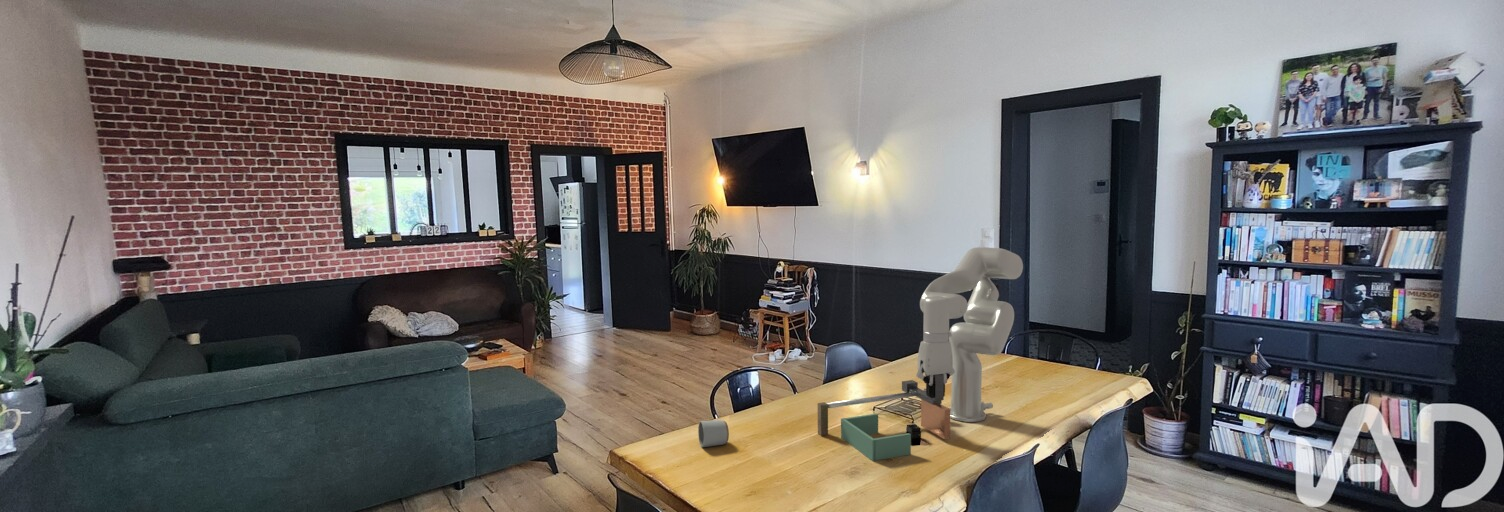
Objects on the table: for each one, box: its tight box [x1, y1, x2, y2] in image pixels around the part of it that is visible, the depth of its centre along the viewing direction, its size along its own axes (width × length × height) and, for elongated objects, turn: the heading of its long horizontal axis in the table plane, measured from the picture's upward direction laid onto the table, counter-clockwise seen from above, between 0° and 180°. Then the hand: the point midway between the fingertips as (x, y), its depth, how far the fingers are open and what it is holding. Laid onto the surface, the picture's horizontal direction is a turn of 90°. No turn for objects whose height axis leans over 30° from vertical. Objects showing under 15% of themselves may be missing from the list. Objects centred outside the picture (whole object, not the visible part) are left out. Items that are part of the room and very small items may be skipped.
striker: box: [901, 374, 951, 440], centre depth 202 cm, size 4×22×18 cm, turn 20°
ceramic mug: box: [697, 419, 730, 448], centre depth 195 cm, size 11×8×8 cm
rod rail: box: [817, 388, 926, 437], centre depth 207 cm, size 41×2×10 cm, turn 109°
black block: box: [898, 423, 930, 447], centre depth 196 cm, size 12×7×5 cm, turn 11°
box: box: [840, 413, 912, 462], centre depth 191 cm, size 12×19×6 cm, turn 19°
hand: (935, 395), depth 197 cm, fingers closed on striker, 3 cm apart
